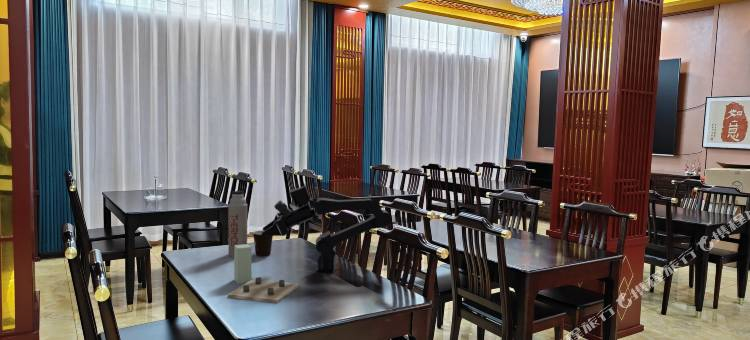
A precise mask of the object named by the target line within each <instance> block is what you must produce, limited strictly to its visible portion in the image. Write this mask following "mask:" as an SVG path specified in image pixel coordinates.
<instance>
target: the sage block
mask: <svg viewBox="0 0 750 340" xmlns="http://www.w3.org/2000/svg"><path fill="white" fill-rule="evenodd" d="M252 250H253V249H252V246H251V245H249V244H248V243H247V244H243V245H234V257H233V258H234V259H233V262H234V266H233V267H234V268H233V269H234V271H233V272H234V273H233V275H234V276H233V278H234V279H233V280H234V281H235V282H236V284H243V283H244V284H245V283H247V282H249V281H250V280H252Z"/></svg>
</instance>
